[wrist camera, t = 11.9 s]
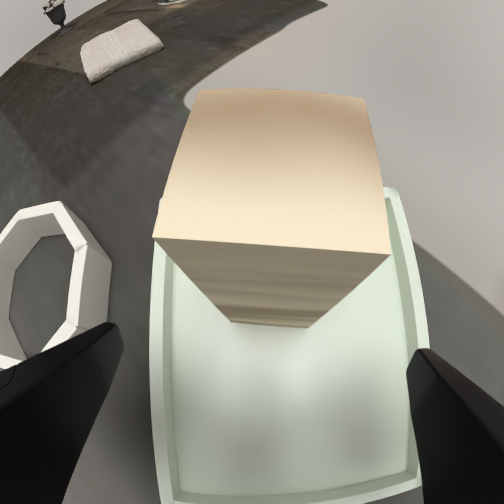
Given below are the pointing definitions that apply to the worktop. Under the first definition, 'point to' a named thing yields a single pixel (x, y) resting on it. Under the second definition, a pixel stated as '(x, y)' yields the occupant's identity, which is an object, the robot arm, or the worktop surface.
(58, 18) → the sundae
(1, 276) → the collar
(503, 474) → the robot arm
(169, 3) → the coffee can
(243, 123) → the dowel block
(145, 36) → the washcloth
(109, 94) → the worktop surface
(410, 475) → the tray
